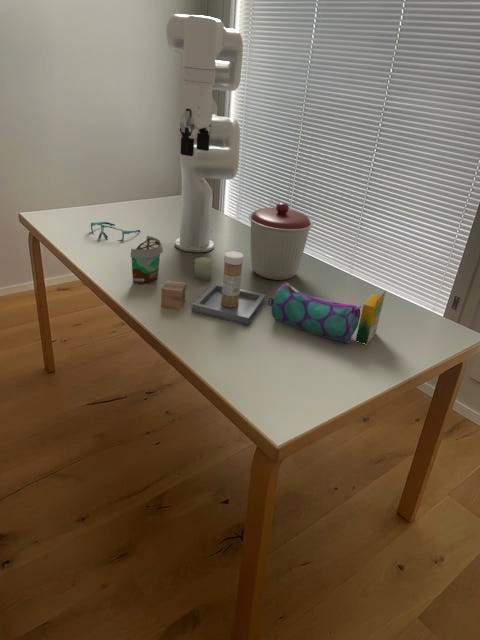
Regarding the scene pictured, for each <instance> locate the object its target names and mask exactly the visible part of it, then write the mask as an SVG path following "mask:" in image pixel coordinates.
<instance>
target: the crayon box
mask: <svg viewBox="0 0 480 640" xmlns="http://www.w3.org/2000/svg"><path fill="white" fill-rule="evenodd" d="M386 291H387V289H385V291H384V292H382V294H381V295H379V294H376V293H372V294H371V295H370V297H369V298H367V300H366V301H365V302H364V304H363V306H362V310H361V313H360V318H359V322H358V326H357V333H356V337H355V342H356V341H359V342H361V343H360V344H362V343H365V344H367V345H369V343H370V341H371V340H372V339H373V338H374V336H375V335H374V334H375V333H377V329H378V325H379V320H380V316H381V312H382V310H383V309H382V307H383V303H384V300H385V296H386ZM371 338H372V339H371ZM359 342H358V343H359ZM368 342H369V343H368ZM365 344H364V345H365Z"/></svg>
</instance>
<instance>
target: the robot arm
mask: <svg viewBox="0 0 480 640" xmlns="http://www.w3.org/2000/svg"><path fill="white" fill-rule="evenodd" d="M165 29H166V30H165V31H166V33H165V34H166V41H167V45H168V47H169V48H170V49H171V50H172V51H174V52H177V53H182V55H183V56H182V85H181V86H182V87H181V92H180V99H179V108H178V109H179V110H178V111H179V112H178V126H179V132H180V136H179V137H180V154H179V165H180V173H181V197H180V198H181V202H180V229H179V237H177V239H175V241H174V246H175V247H176V248H177V249H178V250H181V251H184V252H187V253H188V252H189V253H206V252H210V251H211V250H213V249H214V248H215V243H214V241H213V240H211V234H212V232H213V230H212V228H211V223H212V209H213V207H212V206H213V189H212V188H211V186H210V184H209V183H208V181H207V180H206V179H216V180H225V181H226V180H228V181H229V180H233V179H234V178H235V177H236V176H237V175H238V171H239V163H240V144H241V127H240V124H239V122H238V121H237V120H236V118H233V117H229V116H228V117H227V116H221V115H220V116H219V115H218V106H217V105H218V104H217V103H216V101H215V100H214V98H213V91H214V90H216V91H224V92H233V91H236V90H238V88H239V86H240V83H241V78H242V76H241V75H242V68H243V67H242V66H243V65H242V64H243V54H244V44H243V43H244V42H243V36H242V34H241V32H240V31H239V30H237V29H234V28H229V27H228V28H226V27H225V25H224V23H223V21H221V19H218V18H215V17H212V16H206V15H199V14H198V15H197V14H196V15H195V14H191V15H190V14H181V13H180V14H179V13H174V14H172V15H171V16H170V17H169V18H168V20H167V24H166V28H165Z"/></svg>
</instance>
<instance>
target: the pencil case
mask: <svg viewBox="0 0 480 640" xmlns="http://www.w3.org/2000/svg"><path fill="white" fill-rule="evenodd" d="M266 306H267V307H271V315H272V317H273V318H274V319H276V320H279V321H280V322H283V323H285V324H287V325H289V326H292V327H295V328H298V329H300V330H302V331H305V332H308V333H311V334H314V335H317V336H321V337H324V338H327V339H332V340H335V341H339V342H340V341H342V342H343V343H346V344H348V343H350V341H351V340H352V337H353V335H354V334H355V332H356V330H357V329H358V327H359V323H360V318H361V308H362V306H361V305H360V306H357V305H354V304H353V305H352V304H347V303H341V302H334V301H332V300H331V301H330V300H327V299H324V298H320V297H316V296H311V295H308V294H306V293H303V292H302V291H300V290H298V289H296V288H295V287H294V286H292V285H291V284H290V283H288V282H285V283H283V284H281V285H280V286H279V288H278V289H277V290H276V292H275V295H274V297H269V298H268V300H267V303H266Z"/></svg>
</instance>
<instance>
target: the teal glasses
mask: <svg viewBox="0 0 480 640" xmlns="http://www.w3.org/2000/svg"><path fill="white" fill-rule="evenodd" d="M96 225H97V226H100V229H101V230H100V232H99V235H98V239H100V238H102V236H103V237H104V239H105V241H107V240H108V241H109V239H108V235H107V234H106V232H104V229H105V228H110V229H113V230H114V229H115V230H117V231H121V233H122V236H121V237H122V238H121V239H118V240H115V241H116V242H122V241H124V239H125V235H130V234H131V233H134V234H136V233H140V232H141V230H140V229H135V230H123V229H120V228H117V227H113V226H116V224H115V223H112V222H108V221H99V222H90V231H91V234H92V235H95V233H94V229H93V227H94V226H95V227H96ZM108 225H109V226H108ZM112 225H113V226H112Z"/></svg>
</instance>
